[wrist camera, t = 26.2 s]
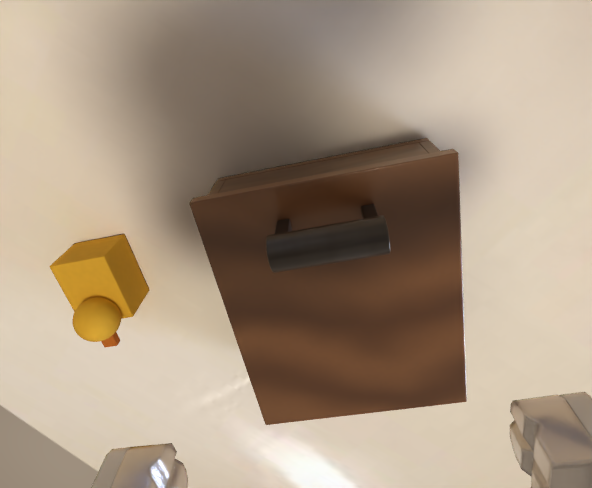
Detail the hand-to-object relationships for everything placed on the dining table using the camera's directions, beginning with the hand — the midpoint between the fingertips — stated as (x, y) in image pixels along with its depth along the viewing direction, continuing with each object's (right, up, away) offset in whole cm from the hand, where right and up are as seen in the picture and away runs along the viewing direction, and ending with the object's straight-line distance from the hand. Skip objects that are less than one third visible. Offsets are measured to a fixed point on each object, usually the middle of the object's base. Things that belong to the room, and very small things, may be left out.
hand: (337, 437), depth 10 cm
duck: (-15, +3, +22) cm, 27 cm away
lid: (+2, +1, +16) cm, 16 cm away
